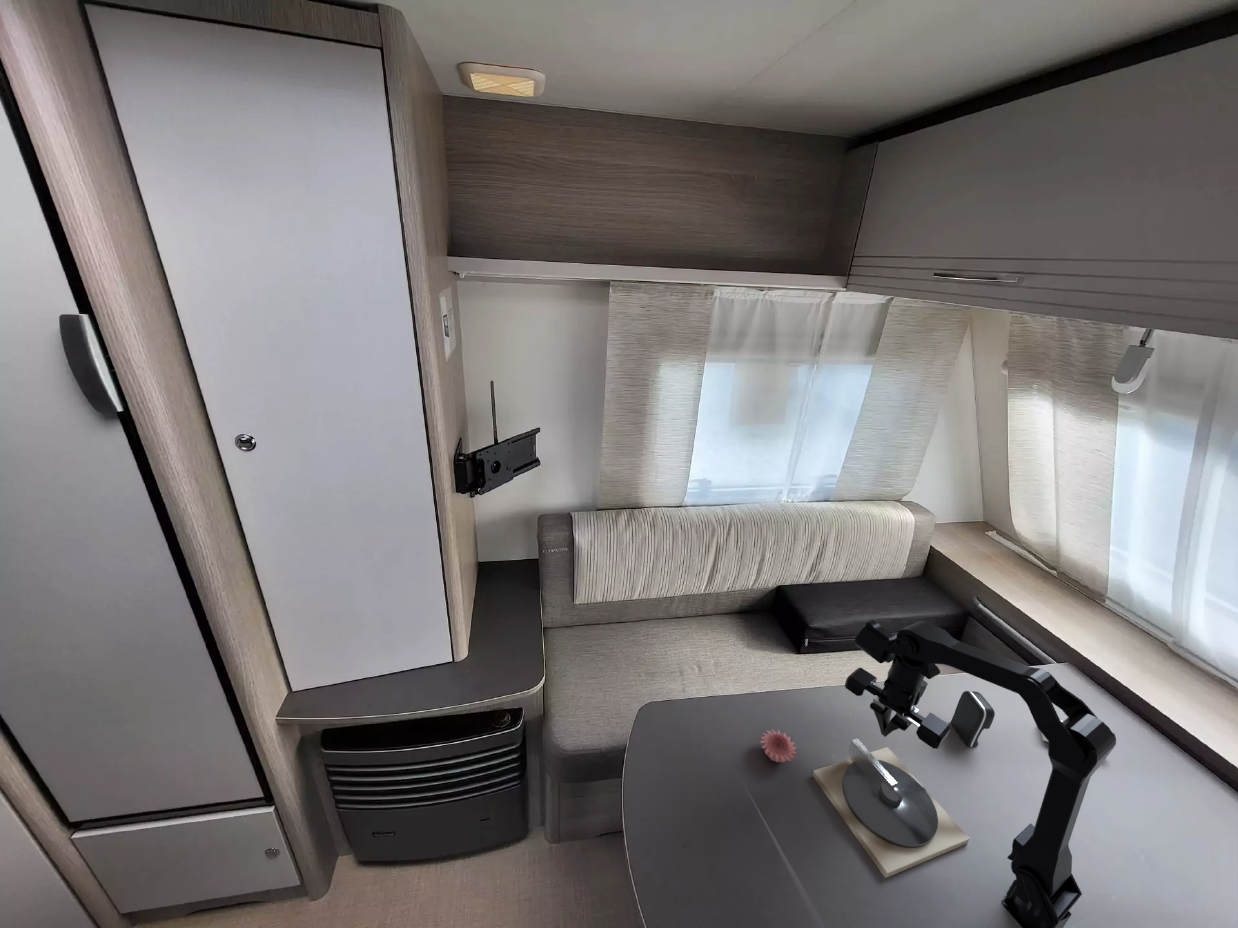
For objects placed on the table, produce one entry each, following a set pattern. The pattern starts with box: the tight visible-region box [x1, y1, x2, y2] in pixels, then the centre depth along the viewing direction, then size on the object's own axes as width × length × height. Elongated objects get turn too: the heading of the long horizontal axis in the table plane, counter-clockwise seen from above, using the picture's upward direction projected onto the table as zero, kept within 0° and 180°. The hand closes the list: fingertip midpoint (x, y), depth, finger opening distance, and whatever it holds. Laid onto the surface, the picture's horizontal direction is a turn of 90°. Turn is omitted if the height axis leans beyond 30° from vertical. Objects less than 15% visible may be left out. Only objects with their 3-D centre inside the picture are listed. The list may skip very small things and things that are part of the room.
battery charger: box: [949, 690, 996, 748], centre depth 117 cm, size 7×4×11 cm, turn 0°
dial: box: [842, 737, 938, 848], centre depth 101 cm, size 19×17×5 cm
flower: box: [759, 728, 798, 763], centre depth 110 cm, size 8×8×6 cm
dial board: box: [811, 746, 971, 879], centre depth 101 cm, size 20×20×2 cm
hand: (884, 734), depth 106 cm, fingers closed
